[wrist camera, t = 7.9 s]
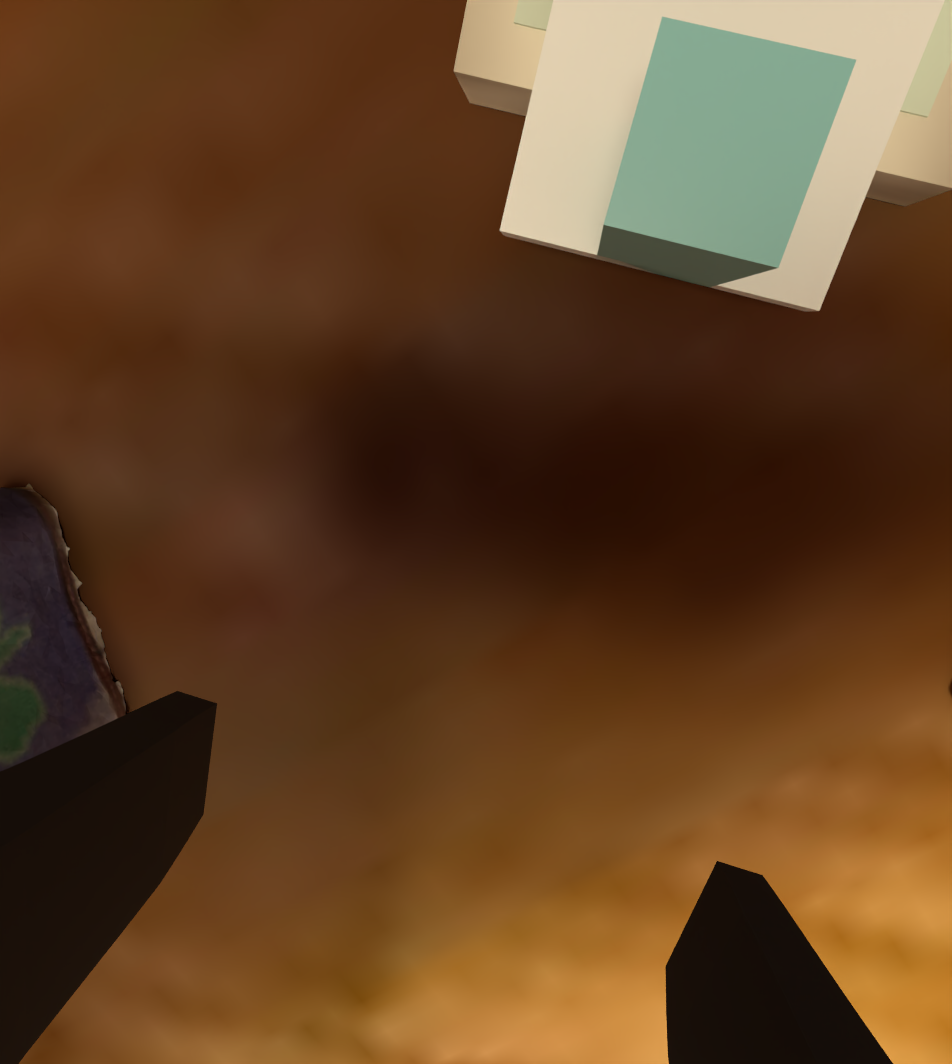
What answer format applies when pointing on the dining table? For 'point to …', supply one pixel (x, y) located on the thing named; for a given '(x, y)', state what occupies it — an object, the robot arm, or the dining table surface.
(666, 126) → the block
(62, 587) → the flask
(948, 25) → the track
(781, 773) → the dining table surface
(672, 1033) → the robot arm
